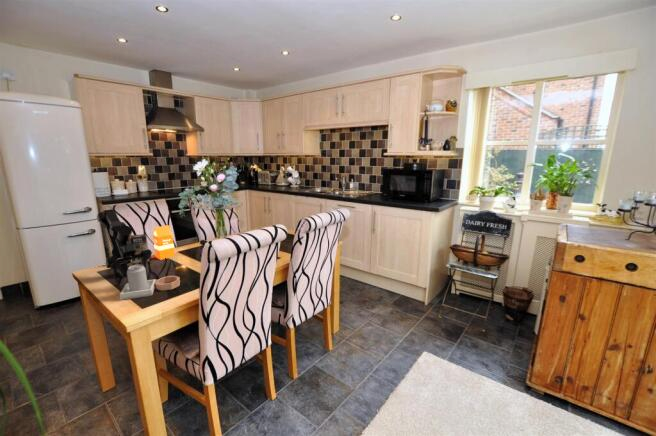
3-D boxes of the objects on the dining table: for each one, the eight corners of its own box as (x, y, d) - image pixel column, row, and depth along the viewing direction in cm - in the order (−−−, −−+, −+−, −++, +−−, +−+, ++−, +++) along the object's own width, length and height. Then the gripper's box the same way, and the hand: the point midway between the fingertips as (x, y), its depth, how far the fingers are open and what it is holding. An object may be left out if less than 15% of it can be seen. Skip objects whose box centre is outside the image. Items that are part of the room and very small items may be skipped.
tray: (120, 300, 138) (119, 294, 137) (127, 288, 149) (126, 283, 149) (152, 295, 142) (151, 289, 142) (156, 284, 154) (155, 279, 153)
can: (134, 294, 141) (131, 270, 138) (126, 291, 144) (123, 267, 142) (151, 288, 147) (148, 265, 144) (143, 285, 151) (139, 262, 148)
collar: (154, 291, 146) (154, 285, 145) (158, 283, 156) (157, 277, 155) (178, 288, 150) (178, 282, 149) (180, 280, 159) (179, 274, 159)
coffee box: (131, 263, 183) (128, 237, 179) (132, 260, 188) (129, 235, 185) (149, 261, 187) (145, 235, 183) (149, 258, 192) (146, 233, 189)
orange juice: (155, 257, 194) (151, 226, 190) (169, 253, 201) (166, 224, 196) (160, 259, 189) (156, 228, 185) (175, 256, 196) (171, 226, 191)
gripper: (103, 241, 139) (113, 270, 134) (148, 233, 153) (158, 259, 148) (101, 253, 146) (111, 282, 141) (145, 245, 160) (154, 270, 155)
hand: (134, 273), depth 146 cm, fingers open, 9 cm apart
